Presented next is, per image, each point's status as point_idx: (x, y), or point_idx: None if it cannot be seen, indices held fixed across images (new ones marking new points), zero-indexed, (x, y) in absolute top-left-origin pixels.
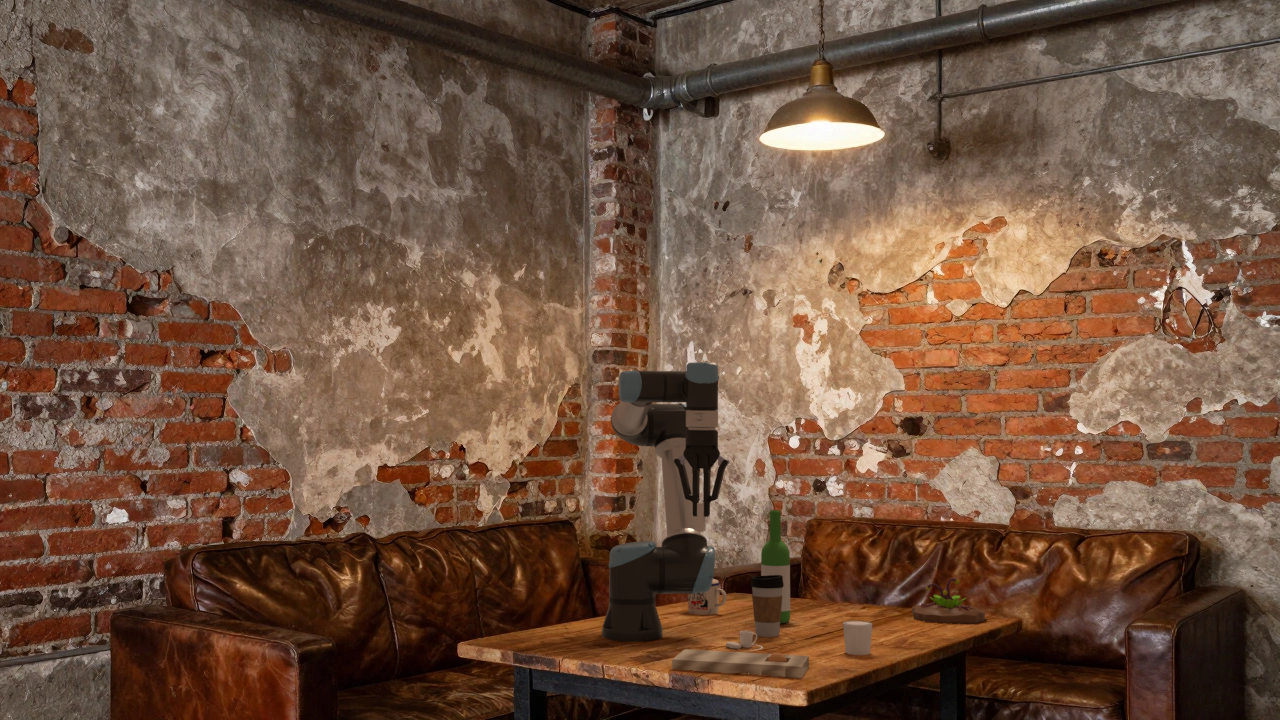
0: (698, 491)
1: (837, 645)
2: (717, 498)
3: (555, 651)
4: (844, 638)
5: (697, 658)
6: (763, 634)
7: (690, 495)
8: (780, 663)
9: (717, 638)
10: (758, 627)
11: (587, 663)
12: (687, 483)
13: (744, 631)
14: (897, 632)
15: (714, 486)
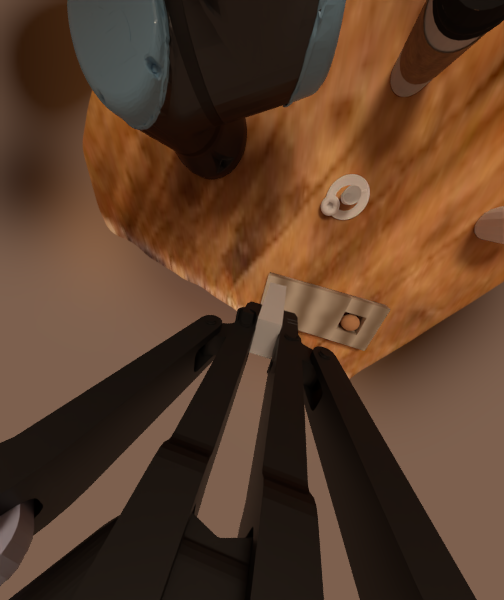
0: (243, 368)
1: (496, 163)
2: (331, 355)
3: (156, 231)
4: (491, 222)
5: None
6: (400, 93)
7: (216, 354)
8: (348, 338)
9: (321, 121)
10: (398, 81)
11: (192, 282)
12: (176, 387)
13: (351, 186)
14: None
15: (317, 436)
